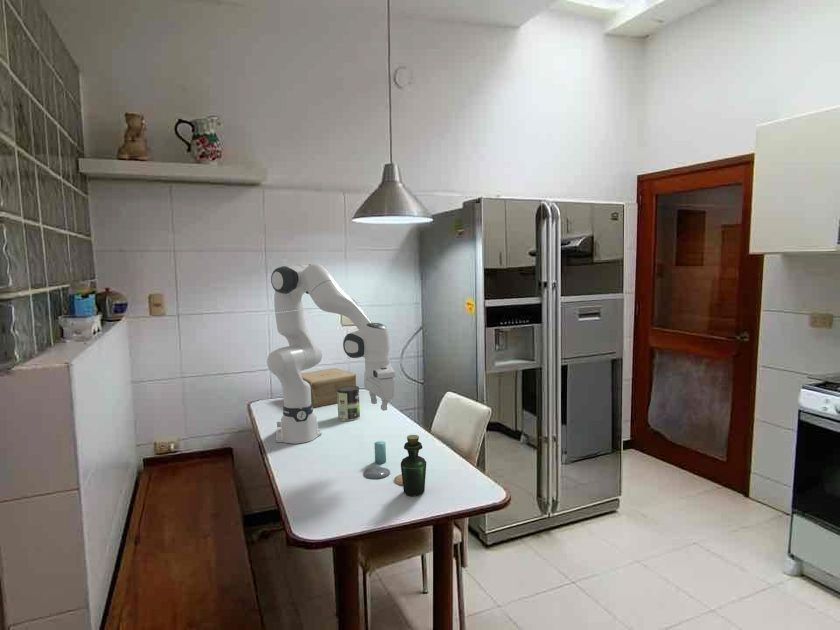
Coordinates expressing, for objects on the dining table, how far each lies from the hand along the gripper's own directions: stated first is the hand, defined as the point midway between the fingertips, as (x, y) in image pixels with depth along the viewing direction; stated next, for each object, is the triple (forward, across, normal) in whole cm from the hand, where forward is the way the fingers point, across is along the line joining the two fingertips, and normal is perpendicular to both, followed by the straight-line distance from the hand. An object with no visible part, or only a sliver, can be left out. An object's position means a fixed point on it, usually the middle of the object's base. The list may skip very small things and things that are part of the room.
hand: (378, 406), depth 186 cm
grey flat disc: (+20, +9, -5) cm, 23 cm away
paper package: (+21, -94, +6) cm, 96 cm away
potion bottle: (+21, +28, 0) cm, 35 cm away
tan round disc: (+21, +19, +2) cm, 28 cm away
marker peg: (+20, 0, 0) cm, 21 cm away
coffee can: (+20, -56, +7) cm, 60 cm away
